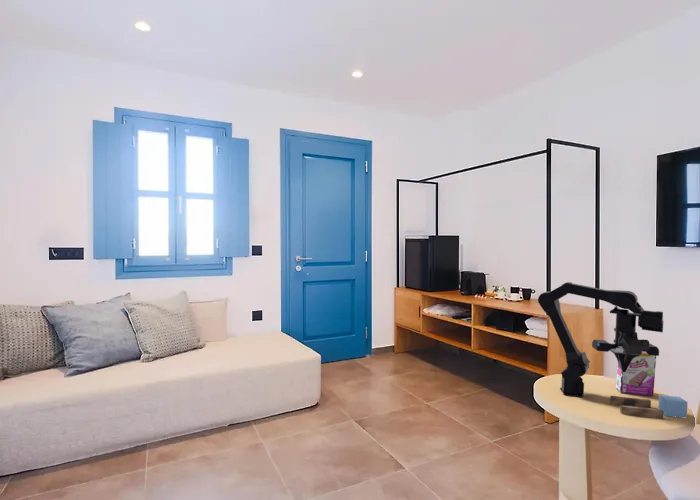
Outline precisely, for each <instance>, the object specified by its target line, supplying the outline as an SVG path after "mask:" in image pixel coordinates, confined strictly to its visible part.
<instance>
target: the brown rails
mask: <svg viewBox="0 0 700 500" xmlns="http://www.w3.org/2000/svg"><path fill="white" fill-rule="evenodd" d="M609 397H610V398H609V403H610V404H611V405H619V413H620V415H628V416H637V417H643V418H644V417H646V418H653V419H654V418H655V419H664V415H663V410H661V409H657V408H651V407H652V405H651V404H652V403H651V402H652V401H651V400H650V399H645V398H636V397H627V396H626V397H625V396H618V395H610V396H609Z"/></svg>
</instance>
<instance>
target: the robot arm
mask: <svg viewBox="0 0 700 500" xmlns="http://www.w3.org/2000/svg"><path fill="white" fill-rule="evenodd" d="M568 294H570V295H575V296H580V297H584V298H590V299H593V300H598V301H603V302H605V303H608V304H610V305H613V306H614V307H613V309H611V310H609V313H610V314H615V327H614V328H613V329H614V330H613V331H614V333H615V335H614V336H615V337H614V339H613V343H611V342H608V341H607V340H605V339H604V340H603V339H594V340H592V342H591V347H592V348H593V349H594V350H596V351H598V352H606V353H608V352H611V353H613V354H614V357H615V358H616V361H618V363H619V366H620V368H621V371H622V372H626V370H627V368H628V366H629V364H630V362H631V361H632V359H633V358H635V357H637V356H638V357H639V356H640V355H641V354H642V351H644V352H646V353H647V354H648V355H654V356H656V357H659V356H660V349H659V347H658V346H656V345H654V344H653V343H650V341H649V340H648V339H639V338H638V333H637V332H636V330H637V329H636V328H637V327H636V326H638V327H639V328H641V330H642V331H650V332H657V333H663V332H664V323H665V322H664V321H665V320H664V312H663V311H661V310H660V311H659V310H658V311H654V310H653V311H652V310H645V309H644V308H643V306H642V305H641V304H640V303H639V302H638V296H637V294H636V293H635V292H633V291H630V290H619V289H618V290H615V289H614V290H613V289H612V290H610V289H609V290H608V289H604V288H603V289H602V288H599V287H598V288H597V287H592V286H587V285H582V284H576V283H573V282H570V281H569V282H568V281H567V282H564V283H562V284H561V285H560V286H558V287H557V288H555V289H553V290H551V291H549V290H548V291H544V292H541V293H540V294H539V295H538V298H537V301H538V304H539V306H540V307H541V309H542V310H543V312H544V313H545V314H546V315H547V316H548V317H549V319H550V321H551V324H552V325H553V328H554V330H555V332H556V335H557V337H558V339H559V341H560V343H561V346H562V348H563V350H564V352H565V361H566V367H565V368H564V369H563V370H562V371H561V387H560V388H559V390H560V391H561V392H562V394H563V395H564V396H569V397H571V396H572V397H579V398H584V397H585V396H584V393H585V382H584V381H583V378H582V376H584V375H585V374H587V371H589V369H590V363H591V362H590V360H589V359H588V357H587V354H586V351H582V352H581V351H580V350H579V349H578V347H577V345H576V342H575V341H574V338H573V336H572V334H571V332H570V329H569V328H568V325H567V322H566V321H565V319H564V317H563V315H562V311H561V303H560V299H562V298H563V297H565V296H568Z"/></svg>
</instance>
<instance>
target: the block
mask: <svg viewBox="0 0 700 500" xmlns="http://www.w3.org/2000/svg"><path fill="white" fill-rule="evenodd" d="M658 409H661V410H663V416H665V417H668V416H674V417H673V418H677V417H687V416H688V401H686V400H685V399H684V398H682V397H681V396H676V395H675V396H674V395H664V394H663V395H662V394H659V395H658ZM675 416H676V417H675ZM687 418H688V417H687Z"/></svg>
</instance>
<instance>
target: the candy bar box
mask: <svg viewBox="0 0 700 500" xmlns="http://www.w3.org/2000/svg"><path fill="white" fill-rule="evenodd" d="M616 361H617V360H616ZM656 363H657V356H654V355H648V354H647V353H646V352H644V351H642V354H641V355H640V356H639V357H638V356H637V357H635V358H633V359H632V361H631V362H630V364H629V366H628V368H627V370H626V372H622V371H621V368H620V366H619V363H618V361H617V363H616V377H615V389H616V390H617V391H618V392H619V393H621V394H622V393H623V394H629V395H640V396H648V397H654V394H655V393H654V392H655V391H654V388H655V376H656V375H655V374H656V373H655V372H656V365H657V364H656Z"/></svg>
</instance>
